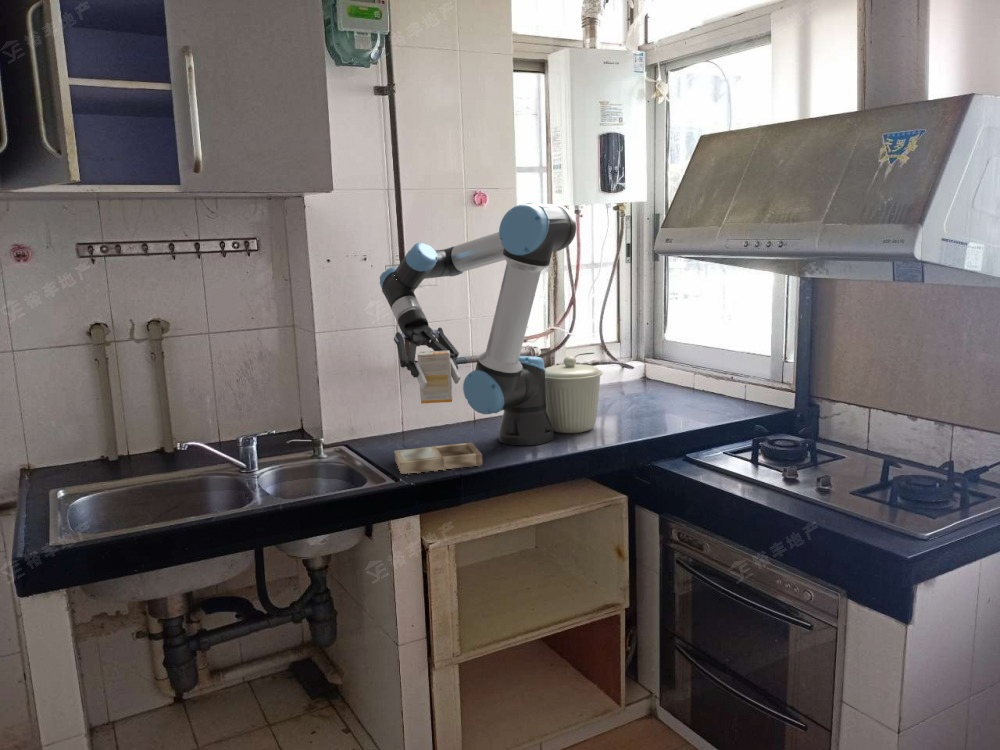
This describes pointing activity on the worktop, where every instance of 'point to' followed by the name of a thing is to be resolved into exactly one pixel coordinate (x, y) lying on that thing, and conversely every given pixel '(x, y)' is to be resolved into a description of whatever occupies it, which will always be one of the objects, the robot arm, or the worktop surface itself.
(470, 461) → the board
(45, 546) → the worktop surface
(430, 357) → the supplement box
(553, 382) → the canister
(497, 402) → the robot arm
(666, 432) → the worktop surface
